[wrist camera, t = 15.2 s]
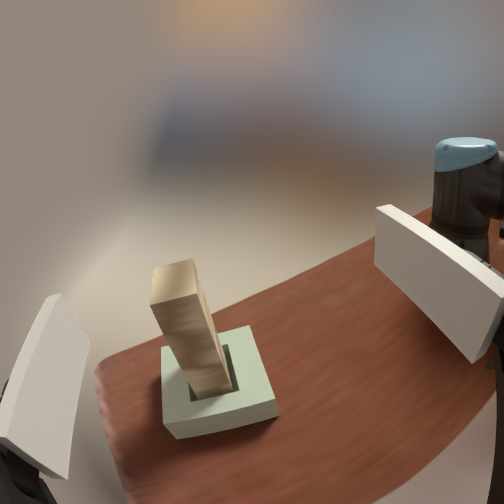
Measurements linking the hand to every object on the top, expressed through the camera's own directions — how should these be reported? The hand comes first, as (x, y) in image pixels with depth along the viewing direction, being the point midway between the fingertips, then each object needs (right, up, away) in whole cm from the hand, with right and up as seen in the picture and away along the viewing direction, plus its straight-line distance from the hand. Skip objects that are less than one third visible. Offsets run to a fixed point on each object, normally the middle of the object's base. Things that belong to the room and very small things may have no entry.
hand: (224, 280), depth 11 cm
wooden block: (-3, -15, +22) cm, 27 cm away
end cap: (-3, -16, +22) cm, 28 cm away
